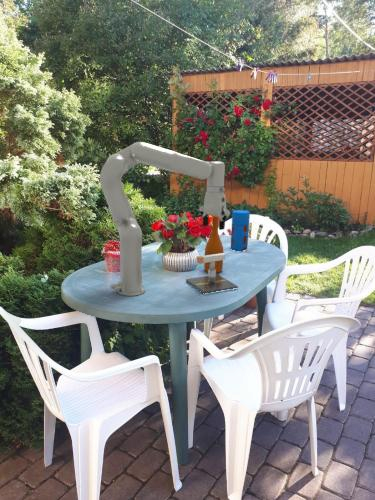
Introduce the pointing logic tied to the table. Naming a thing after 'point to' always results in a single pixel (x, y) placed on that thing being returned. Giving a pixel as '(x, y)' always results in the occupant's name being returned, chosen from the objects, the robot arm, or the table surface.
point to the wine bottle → (214, 246)
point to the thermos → (240, 230)
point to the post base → (209, 286)
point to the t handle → (211, 259)
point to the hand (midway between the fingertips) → (213, 227)
